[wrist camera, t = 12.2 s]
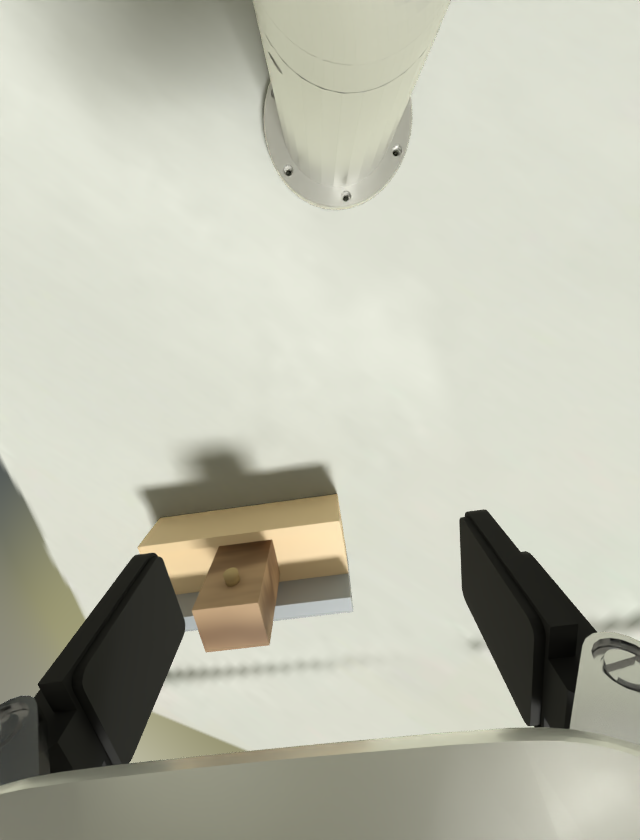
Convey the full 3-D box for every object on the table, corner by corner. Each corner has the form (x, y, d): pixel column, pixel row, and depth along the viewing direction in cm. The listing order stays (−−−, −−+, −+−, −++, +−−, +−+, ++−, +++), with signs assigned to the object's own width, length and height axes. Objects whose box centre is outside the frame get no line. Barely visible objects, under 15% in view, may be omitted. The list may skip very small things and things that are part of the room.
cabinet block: (217, 537, 39) (188, 601, 31) (270, 530, 39) (255, 593, 30) (229, 580, 41) (205, 652, 33) (280, 573, 41) (269, 645, 32)
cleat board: (159, 517, 43) (127, 559, 36) (337, 493, 42) (340, 532, 35) (182, 583, 46) (157, 634, 39) (348, 563, 45) (353, 611, 38)
